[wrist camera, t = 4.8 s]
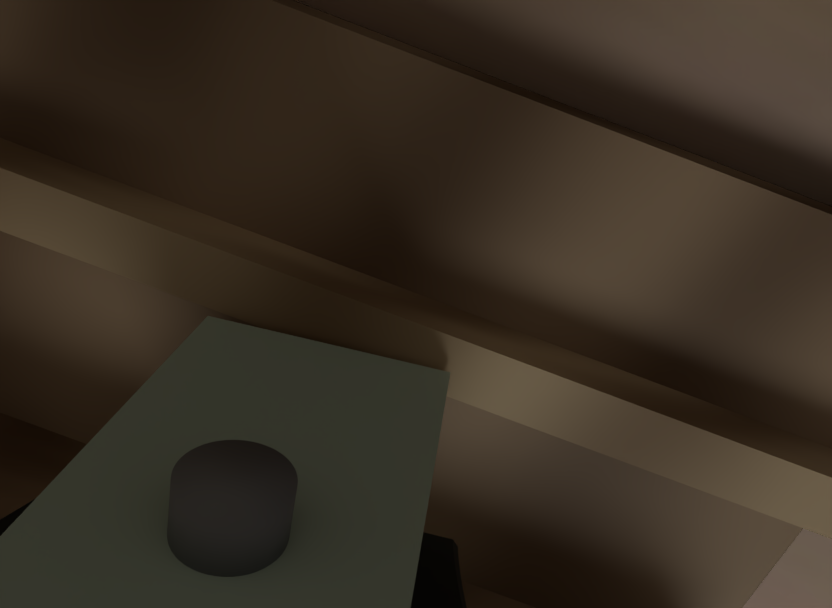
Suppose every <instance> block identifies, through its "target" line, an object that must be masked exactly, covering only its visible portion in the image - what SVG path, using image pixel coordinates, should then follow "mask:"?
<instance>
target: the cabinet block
mask: <svg viewBox="0 0 832 608" xmlns="http://www.w3.org/2000/svg"><path fill="white" fill-rule="evenodd" d="M449 378H450V372H447V371H442V370H438V369H434V368H430V367H425V366H421V365H417V364H412V363H408V362H404V361H400V360H395V359H391V358H387V357H382V356H378V355H374V354H370V353H365V352H361V351H357V350H352V349H348V348H344V347H340V346H335V345H331V344H327V343H323V342H318V341H314V340H310V339H305V338H301V337H297V336H293V335H288V334H284V333H280V332H275V331H271V330H267V329H263V328H258V327H254V326H250V325H245V324H241V323H237V322H233V321H228V320H224V319H220V318H215V317H211V316H207V317H206V318H205V319H204V321H203V322H202V323H201V324H200V325H199V326H198V327H197V328H196V329H195V330H194V331H193V332H192V333H191V334H190V335H189V336H188V337H187V339H186V340H185V341H184V342H183V343H182V344H181V345H180V346H179V347H178V348H177V349H176V350H175V351H174V352H173V353H172V354H171V356H170V357H169V358H168V359H167V360H166V361H165V362H164V363H163V364H162V365H161V366H160V367H159V368H158V369H157V370H156V371H155V373H154V374H153V375H152V376H151V377H150V378H149V379H148V380H147V381H146V382H145V383H144V384H143V385H142V386H141V387H140V388H139V389H138V391H137V392H136V393H135V394H134V395H133V396H132V397H131V398H130V399H129V400H128V401H127V402H126V403H125V404H124V405H123V406H122V408H121V409H120V410H119V411H118V412H117V413H116V414H115V415H114V416H113V417H112V418H111V419H110V420H109V421H108V422H107V423H106V425H105V426H104V427H103V428H102V429H101V430H100V431H99V432H98V433H97V434H96V435H95V436H94V437H93V438H92V439H91V440H90V442H89V443H88V444H87V445H86V446H85V447H84V448H83V449H82V450H81V451H80V452H79V453H78V454H77V455H76V456H75V457H74V458H73V460H72V461H71V462H70V463H69V464H68V465H67V466H66V467H65V468H64V469H63V470H62V471H61V472H60V473H59V474H58V475H57V477H56V478H55V479H54V480H53V481H52V482H51V483H50V484H49V485H48V486H47V487H46V488H45V489H44V490H43V491H42V492H41V494H40V495H39V496H38V497H37V498H36V499H35V500H34V501H33V502H32V503H31V504H30V505H29V506H28V507H27V508H26V509H25V510H24V512H23V513H22V514H21V515H20V516H19V517H18V518H17V519H16V520H15V521H14V522H13V523H12V524H11V525H10V526H9V527H8V529H7V530H6V531H5V532H4V533H3V534H2V535H1V536H0V608H411V602H412V596H413V590H414V584H415V578H416V573H417V567H418V561H419V555H420V549H421V543H422V537H423V531H424V525H425V519H426V514H427V508H428V502H429V496H430V490H431V484H432V478H433V472H434V466H435V460H436V454H437V449H438V443H439V437H440V431H441V425H442V419H443V413H444V407H445V401H446V395H447V390H448V384H449Z"/></svg>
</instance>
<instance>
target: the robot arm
mask: <svg viewBox="0 0 832 608" xmlns="http://www.w3.org/2000/svg"><path fill="white" fill-rule="evenodd" d="M35 499H36V498H35ZM35 499H33V500H32V501H30V502H29V503H27V504H25V505H24V506H22V507H20V508H19V509H17V510H15V511H13V512H12V513H10V514H8V515H7V516H5V517H3V518H2V519H0V536H1V535H2V534H3V533H4V532H5V531H6V530H7V529H8V527H9V526H10V525H11V524H12V523H13V522H14V521H15V520H16V519H17V518H18V517H19V516H20V515H21V514H22V513H23V512H24V510H25V509H26V508H27V507H28V506H29V505H30V504H31V503H32V502H33V501H34V500H35ZM411 608H467V606H466V602H465V597H464V592H463V586H462V580H461V574H460V566H459V557H458V546H457V545H456V543H455V542H454V540H453V539H450V538H445V537H441V536H437V535H433V534H429V533H425V532H423V537H422V543H421V549H420V555H419V561H418V567H417V573H416V578H415V584H414V590H413V596H412V602H411Z"/></svg>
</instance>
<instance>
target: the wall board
mask: <svg viewBox="0 0 832 608" xmlns="http://www.w3.org/2000/svg"><path fill="white" fill-rule="evenodd" d="M207 316H211V317H215V318H220V319H224V320H228V321H233V322H237V323H241V324H245V325H250V326H254V327H258V328H263V329H267V330H271V331H275V332H280V333H284V334H288V335H293V336H297V337H301V338H305V339H310V340H314V341H318V342H323V343H327V344H331V345H335V346H340V347H344V348H348V349H352V350H357V351H361V352H365V353H370V354H374V355H378V356H382V357H387V358H391V359H395V360H400V361H404V362H408V363H412V364H417V365H421V366H425V367H430V368H434V369H438V370H442V371H447V372H450V378H449V384H448V390H447V395H446V401H445V407H444V413H443V419H442V425H441V431H440V437H439V443H438V449H437V454H436V460H435V466H434V472H433V478H432V484H431V490H430V496H429V502H428V508H427V514H426V519H425V525H424V531H423V532H425V533H429V534H433V535H437V536H441V537H445V538H450V539H453V540H454V542H455V543H456V545H457V546H458V557H459V566H460V574H461V580H462V586H463V592H464V597H465V602H466V606H467V608H742V607H743V606H744V605H745V603H746V602H747V601H748V599H749V598H750V597H751V596H752V594H753V593H754V592H755V590H756V589H757V588H758V586H759V585H760V584H761V583H762V581H763V580H764V579H765V577H766V576H767V575H768V573H769V572H770V571H771V570H772V568H773V567H774V566H775V564H776V563H777V562H778V560H779V559H780V558H781V557H782V555H783V554H784V553H785V551H786V550H787V549H788V547H789V546H790V545H791V544H792V542H793V541H794V540H795V538H796V537H797V536H798V534H799V533H800V532H801V531H802V529H803V528H804V529H806V530H809V531H812V532H814V533H817V534H820V535H822V536H825V537H828V538H831V539H832V207H831V206H829V205H826V204H823V203H821V202H818V201H816V200H813V199H810V198H808V197H805V196H802V195H800V194H797V193H795V192H792V191H789V190H787V189H784V188H782V187H779V186H776V185H774V184H771V183H768V182H766V181H763V180H761V179H758V178H755V177H753V176H750V175H748V174H745V173H742V172H740V171H737V170H735V169H732V168H729V167H727V166H724V165H721V164H719V163H716V162H714V161H711V160H708V159H706V158H703V157H701V156H698V155H695V154H693V153H690V152H688V151H685V150H682V149H680V148H677V147H674V146H672V145H669V144H667V143H664V142H661V141H659V140H656V139H654V138H651V137H648V136H646V135H643V134H640V133H638V132H635V131H633V130H630V129H627V128H625V127H622V126H620V125H617V124H614V123H612V122H609V121H607V120H604V119H601V118H599V117H596V116H593V115H591V114H588V113H586V112H583V111H580V110H578V109H575V108H573V107H570V106H567V105H565V104H562V103H560V102H557V101H554V100H552V99H549V98H546V97H544V96H541V95H539V94H536V93H533V92H531V91H528V90H526V89H523V88H520V87H518V86H515V85H512V84H510V83H507V82H505V81H502V80H499V79H497V78H494V77H492V76H489V75H486V74H484V73H481V72H479V71H476V70H473V69H471V68H468V67H465V66H463V65H460V64H458V63H455V62H452V61H450V60H447V59H445V58H442V57H439V56H437V55H434V54H432V53H429V52H426V51H424V50H421V49H418V48H416V47H413V46H411V45H408V44H405V43H403V42H400V41H398V40H395V39H392V38H390V37H387V36H384V35H382V34H379V33H377V32H374V31H371V30H369V29H366V28H364V27H361V26H358V25H356V24H353V23H351V22H348V21H345V20H343V19H340V18H337V17H335V16H332V15H330V14H327V13H324V12H322V11H319V10H317V9H314V8H311V7H309V6H306V5H304V4H301V3H298V2H296V1H293V0H0V519H2V518H3V517H5V516H7V515H8V514H10V513H12V512H13V511H15V510H17V509H19V508H20V507H22V506H24V505H25V504H27V503H29V502H30V501H32V500H33V499H35V498H37V497H38V496H39V495H40V494H41V492H42V491H43V490H44V489H45V488H46V487H47V486H48V485H49V484H50V483H51V482H52V481H53V480H54V479H55V478H56V477H57V475H58V474H59V473H60V472H61V471H62V470H63V469H64V468H65V467H66V466H67V465H68V464H69V463H70V462H71V461H72V460H73V458H74V457H75V456H76V455H77V454H78V453H79V452H80V451H81V450H82V449H83V448H84V447H85V446H86V445H87V444H88V443H89V442H90V440H91V439H92V438H93V437H94V436H95V435H96V434H97V433H98V432H99V431H100V430H101V429H102V428H103V427H104V426H105V425H106V423H107V422H108V421H109V420H110V419H111V418H112V417H113V416H114V415H115V414H116V413H117V412H118V411H119V410H120V409H121V408H122V406H123V405H124V404H125V403H126V402H127V401H128V400H129V399H130V398H131V397H132V396H133V395H134V394H135V393H136V392H137V391H138V389H139V388H140V387H141V386H142V385H143V384H144V383H145V382H146V381H147V380H148V379H149V378H150V377H151V376H152V375H153V374H154V373H155V371H156V370H157V369H158V368H159V367H160V366H161V365H162V364H163V363H164V362H165V361H166V360H167V359H168V358H169V357H170V356H171V354H172V353H173V352H174V351H175V350H176V349H177V348H178V347H179V346H180V345H181V344H182V343H183V342H184V341H185V340H186V339H187V337H188V336H189V335H190V334H191V333H192V332H193V331H194V330H195V329H196V328H197V327H198V326H199V325H200V324H201V323H202V322H203V321H204V319H205V318H206V317H207Z"/></svg>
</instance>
